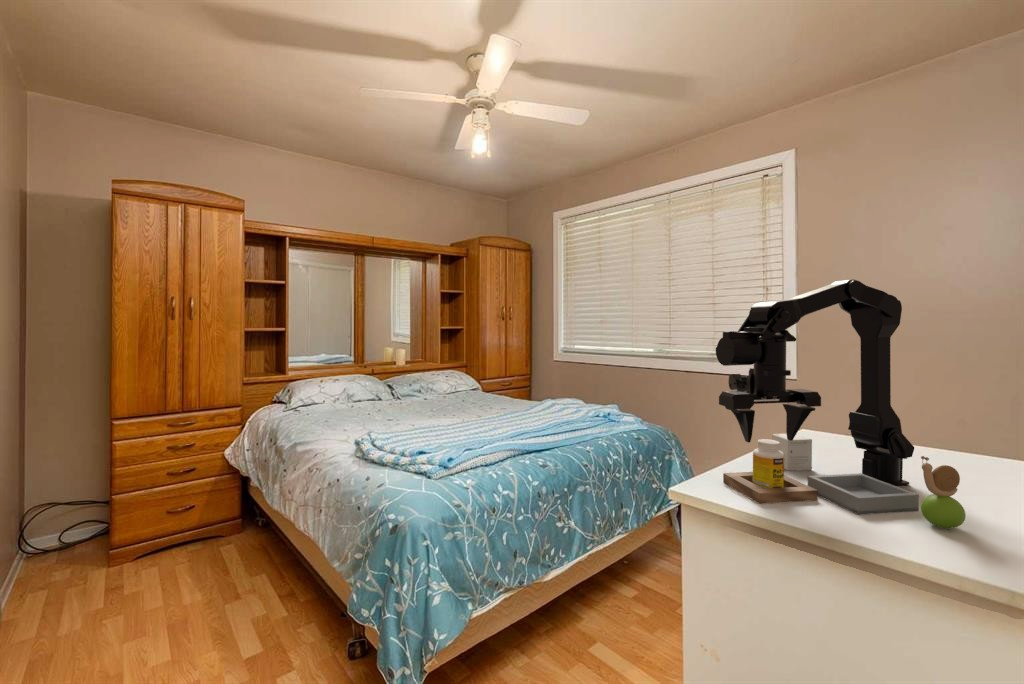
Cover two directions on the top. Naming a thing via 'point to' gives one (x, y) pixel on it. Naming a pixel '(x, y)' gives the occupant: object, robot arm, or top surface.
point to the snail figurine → (942, 496)
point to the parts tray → (864, 494)
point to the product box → (795, 451)
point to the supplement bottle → (768, 464)
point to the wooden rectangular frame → (770, 489)
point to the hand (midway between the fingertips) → (768, 441)
